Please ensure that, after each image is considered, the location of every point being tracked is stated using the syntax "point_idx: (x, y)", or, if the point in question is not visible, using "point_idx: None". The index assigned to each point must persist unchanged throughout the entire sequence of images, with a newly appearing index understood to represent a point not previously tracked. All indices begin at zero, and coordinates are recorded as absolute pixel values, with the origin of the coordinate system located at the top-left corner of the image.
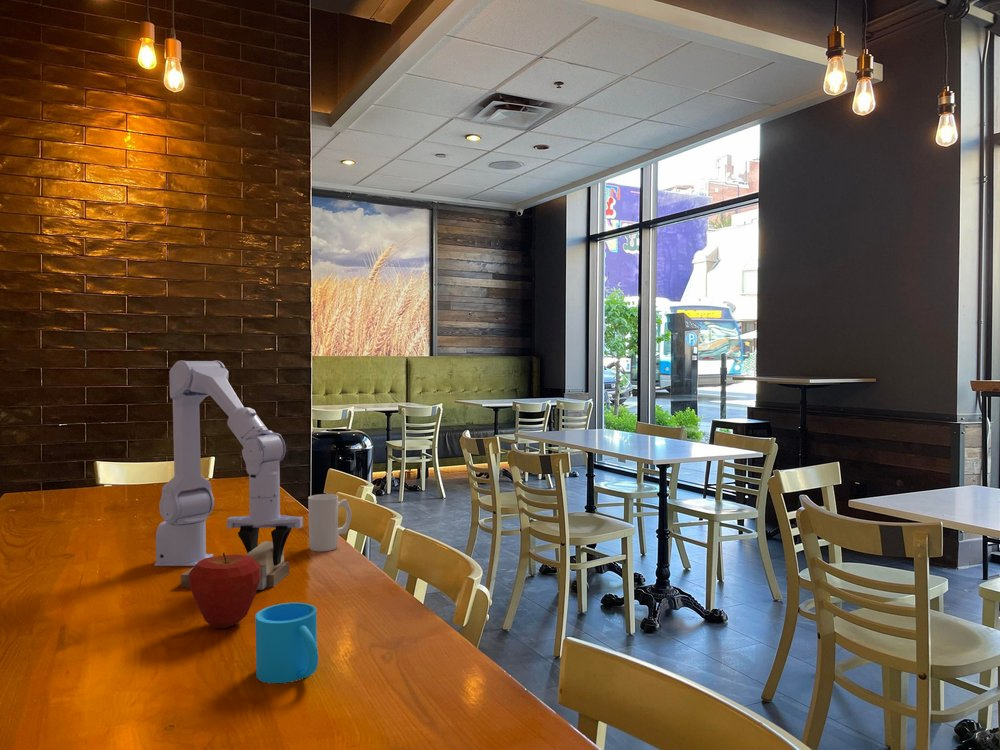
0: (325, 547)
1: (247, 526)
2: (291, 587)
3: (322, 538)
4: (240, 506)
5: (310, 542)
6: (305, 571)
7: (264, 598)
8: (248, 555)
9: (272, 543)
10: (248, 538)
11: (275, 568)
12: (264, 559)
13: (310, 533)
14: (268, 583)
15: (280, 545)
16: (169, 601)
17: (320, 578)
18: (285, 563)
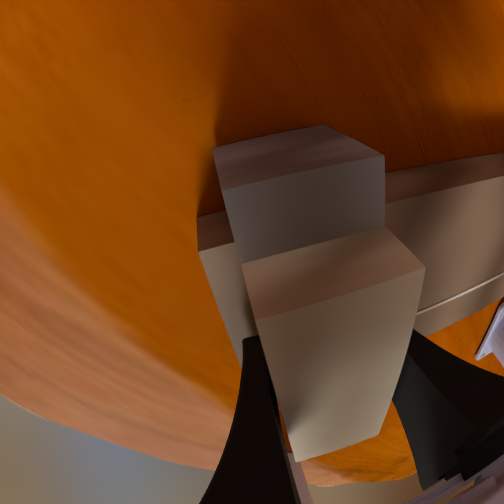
0: None
1: (491, 462)
2: (117, 242)
3: None
4: None
5: (295, 466)
6: (203, 383)
7: (137, 61)
8: (402, 273)
9: (333, 439)
10: (461, 402)
11: (257, 330)
12: (262, 289)
13: (298, 484)
14: (224, 218)
15: (229, 440)
16: (496, 13)
17: (98, 349)
18: None
